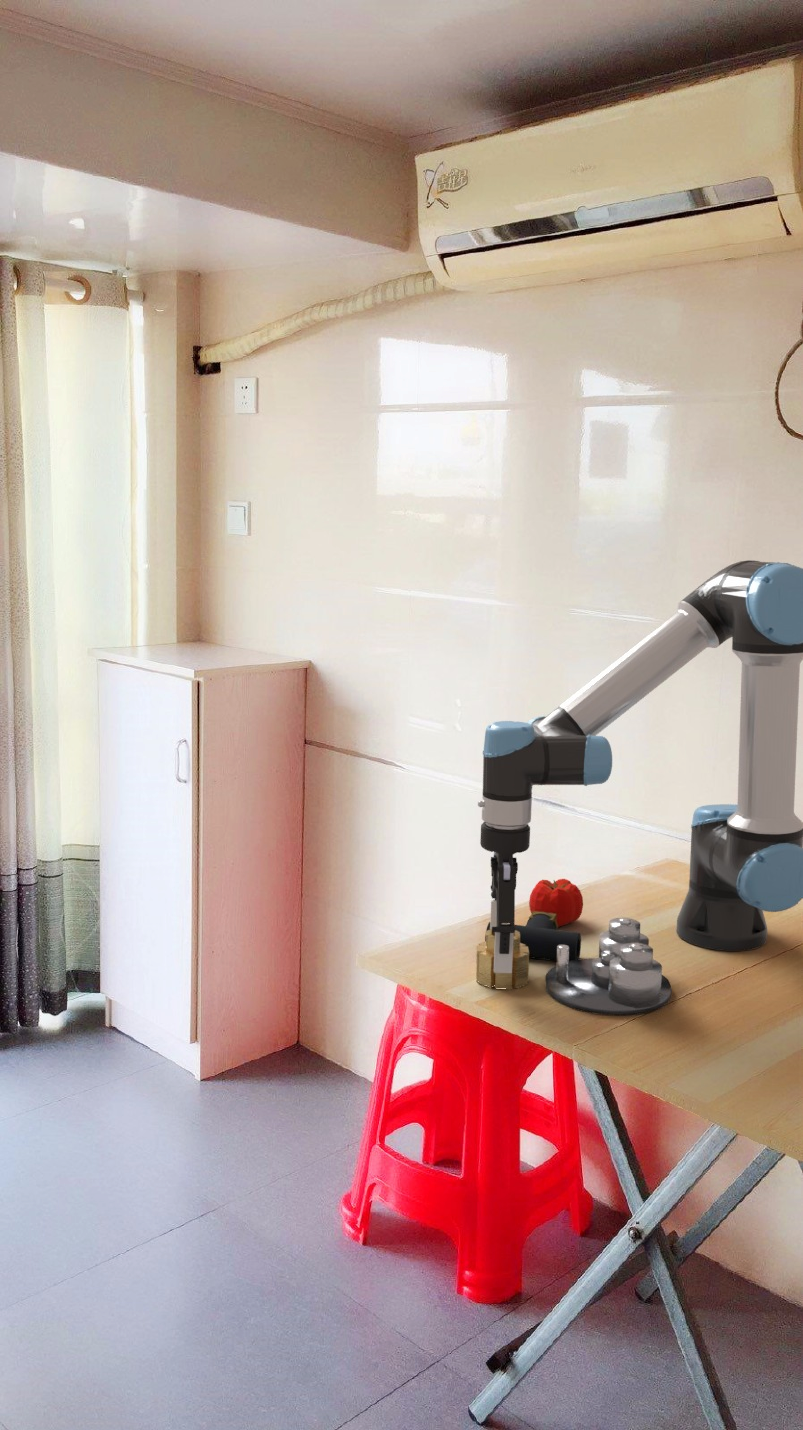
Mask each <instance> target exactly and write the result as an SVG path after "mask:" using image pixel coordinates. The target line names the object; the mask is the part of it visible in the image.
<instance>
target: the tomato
mask: <svg viewBox="0 0 803 1430" xmlns="http://www.w3.org/2000/svg"><path fill="white" fill-rule="evenodd" d="M583 897H584V896H583V894H582V892H581V890H580V889H579V887H578V886H577V885H576V884H574V883H572V882H571V880H568V879H566V878H560V879H559V878H558V879H557V880H556V881H555V880H553V882H551V881H550V880H548V879H542V880H539V881H538V882H537V883H536V884H535V886H534V888H533V889H532V890H531V893H530V896H529V899H528V900H529V901H528V904H529V905H528V906H529V910H530V913H531V914H532V913H533V911H537V912H546V913H554V914H557V915H556V921H557V924H558V928H559V927H562V926H565V925H567V924H570V923H573V922H575V921H577V920H578V919H579V918H580V917H581V915H582V913H583V907H584V898H583ZM531 914H530V915H531Z"/></svg>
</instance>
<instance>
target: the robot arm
mask: <svg viewBox="0 0 803 1430" xmlns="http://www.w3.org/2000/svg"><path fill="white" fill-rule="evenodd" d="M729 639H732V641H731V643H732V644H731V645H732V646H731V650H732V651H731V652H732V653H733V654H735V656H737V658H738V659H739V660H740V662H741V674H740V676H741V679H740V680H741V681H740V682H741V683H740V707H739V708H740V710H739V711H740V712H739V713H740V715H739V742H738V744H739V745H738V747H739V748H738V775H737V777H738V780H737V782H738V783H737V804H729V803H728V804H718V803H717V804H706V805H701V806H699V807H697V808H696V809H695V810H694V811H693V816H692V823H691V824H690V825H691V826H690V829H691V834H690V835H691V839H690V840H691V841H690V858H689V860H690V861H689V880H688V881H689V883H688V890H687V893H686V895H685V898H684V901H683V903H682V906H681V907H680V911H679V913H678V915H677V919H676V928H675V929H676V930H675V932H676V934H677V936H678V937H679V938H681V939H682V940H684V941H685V942H687V943H689V944H691V945H694V946H697V947H701V948H705V949H709V950H710V949H711V950H716V951H726V952H738V951H739V952H742V951H751V950H755V949H758V948H761V947H763V946H764V945H765V944H766V943H767V941H768V940H767V939H768V925H767V922H766V918H765V915H764V912H768V913H770V912H771V913H777V912H778V913H779V912H782V911H786V910H789V909H791V908H793V907H795V906H796V905H798V904H799V902H801V901H802V900H803V821H802V820H801V819H800V817H798V815H796V813H795V792H796V767H797V766H796V765H797V744H798V742H797V741H798V722H799V720H798V719H799V717H798V716H799V693H800V692H799V691H800V673H801V672H800V668H801V667H800V666H801V663H802V661H803V568H802V567H800V566H797V565H793V564H790V563H788V562H773V561H771V562H770V561H769V562H768V561H759V560H740V561H738V562H735V563H733V564H730V565H727V566H726V567H724V568H722V569H721V570H719V571H718V572H716V573H715V574H713V575H712V576H710V577H709V578H708V579H707V580H706V581H704V582H703V583H702V584H700V585H699V586H698V587H697V588H695V589H694V590H693V591H692V592H690V593H689V594H688V595H686V596H685V597H684V598H683V599H681V600H680V601H679V602H678V604H677V611H676V612H675V613H674V614H673V615H672V616H670V617H669V618H668V619H667V620H664V622H663V623H662V624H660V625H659V626H658V627H657V628H655V629H654V630H653V631H651V633H649V634H648V635H647V636H645V637H644V638H643V639H642V640H641V641H639V642H638V643H636V644H635V645H634V646H633V647H631V648H630V650H628V651H627V652H626V653H625V654H623V655H622V656H621V657H619V658H618V659H616V660H615V661H614V662H613V663H612V664H611V665H609V666H608V667H607V668H605V669H604V670H603V671H602V672H600V673H599V674H597V676H596V677H594V678H593V679H591V681H589V682H588V683H587V684H586V685H584V686H583V687H582V688H581V689H580V690H578V691H577V692H576V693H574V694H573V695H572V696H571V697H570V698H568V699H567V700H566V701H565V702H563V703H562V704H561V705H560V706H558V707H557V708H555V709H554V710H553V711H552V712H550V713H549V714H547V715H546V716H545V715H544V716H537V717H535V718H531V719H530V720H528V722H524V721H512V720H501V721H494V722H492V723H489V724H488V725H487V726H486V729H485V734H484V743H483V750H482V756H483V760H482V761H483V763H482V764H483V767H482V768H483V769H482V773H483V774H482V797H481V798H482V800H479V801H478V802H477V806H478V807H479V808H482V809H481V820H482V823H481V824H480V840H479V841H480V842H479V844H480V846H481V848H483V850H485V851H486V852H487V851H488V852H491V853H493V856H490V870H491V871H490V872H491V885H490V890H491V893H490V896H491V900H490V919H489V922H490V929H492V932H495V949H494V973H512V960H513V937H514V932H515V925H516V924H515V922H516V921H515V917H516V916H515V914H516V913H515V912H516V910H515V909H516V907H515V905H516V904H515V903H516V900H515V899H516V887H517V874H518V870H519V863H518V862H517V857H514V855H516V854H517V853H519V854H520V853H523V852H526V851H528V849H529V848H530V843H531V842H530V838H531V826H529V825H530V823H531V821H532V803H533V802H532V801H533V796H532V795H533V792H532V791H533V786H585V787H587V786H592V785H601V784H604V783H606V782H607V781H608V780H609V779H610V776H611V773H612V770H613V769H612V768H613V751H612V747H611V746H612V745H611V744H610V742H609V740H608V739H607V738H606V737H605V736H603V735H598V734H600V733H601V732H602V731H604V729H606V728H607V727H608V726H609V725H611V724H612V723H614V722H615V721H616V720H617V719H619V718H620V717H621V716H623V715H624V714H625V713H626V712H627V711H629V710H630V709H631V708H633V707H634V706H635V705H636V704H638V703H639V702H640V701H641V700H643V699H644V698H645V697H647V696H648V695H649V694H650V693H652V692H653V691H654V690H656V689H657V688H658V687H659V686H660V685H662V684H663V683H664V682H666V680H668V679H669V678H670V677H672V676H673V675H674V674H675V673H677V672H678V671H679V670H681V669H682V668H683V667H684V666H685V665H687V664H688V663H689V662H691V661H692V660H693V659H694V658H696V657H697V656H698V655H699V654H700V653H702V652H703V651H704V650H706V649H707V648H712V649H716V648H718V647H720V646H721V645H722V644H723V643H724V642H727V640H729ZM507 924H510V925H507ZM764 943H765V944H764ZM763 944H764V945H763ZM762 945H763V946H762Z"/></svg>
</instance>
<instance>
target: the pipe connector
mask: <svg viewBox="0 0 803 1430" xmlns="http://www.w3.org/2000/svg"><path fill="white" fill-rule="evenodd" d="M556 915H557V914H554V913H546V912H537V911H533V913H532V914H530V916H529V917H528V920H527V922H526V924H525V925H520V924H515V930H517V931H519V932H520V943H522V944H525V945H526V946H528V949H529V959H530V958H531V959H538V960H539V959H540V960H545V961H546V960H547V961H553V962H557V946H558V945H567V946H569V961H572V960H578V959H580V956H581V948H582V947H581V946H582V935H581V933H580V932H576V931H570V930H569V931H567V930H560V929H559V927H558V924H557V921H556ZM507 925H510V923H507ZM487 930H490V921H489V922H488V924H487V925H486V931H487ZM486 931H485V932H486ZM485 941H486V934H485V936H484V942H485Z"/></svg>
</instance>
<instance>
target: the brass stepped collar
mask: <svg viewBox="0 0 803 1430" xmlns="http://www.w3.org/2000/svg"><path fill="white" fill-rule="evenodd" d="M485 935H486V941H485V940H484V941H483V942H480V943H478V944H477V945H476V964H475V966H476V967H475V971H476V972H475V977H476V979H477V980H476V982H477V981H479V982H478V984H479V983H480V984H483V985H487V986H489V987H492V986H494V985H495V987H494V989H495V988H506V989H513V988H512V987H515V988H518V987H520V986H522V987H524V986H523V985H525V986H527V985H528V984H529V972H530V971H529V969H530V965H529V964H530V957H529V949H528V946H526V945H525V944H522V943H520V932H519V931H517V930H515V932H514V937H513V960H512V973H494V949H495V932H492V929H490V930H487V931H485ZM480 984H479V985H480ZM483 985H482V986H483ZM520 988H521V987H520ZM518 989H519V988H518Z"/></svg>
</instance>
